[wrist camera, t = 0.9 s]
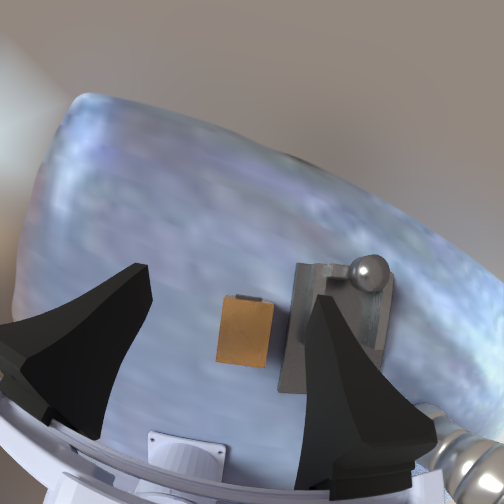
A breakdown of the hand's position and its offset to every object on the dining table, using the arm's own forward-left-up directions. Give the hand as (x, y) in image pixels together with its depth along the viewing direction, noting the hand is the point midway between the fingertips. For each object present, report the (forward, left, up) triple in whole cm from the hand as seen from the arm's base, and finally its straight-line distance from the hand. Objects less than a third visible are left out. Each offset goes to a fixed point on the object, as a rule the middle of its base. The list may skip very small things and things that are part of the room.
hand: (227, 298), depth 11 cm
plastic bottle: (-14, -22, -13) cm, 29 cm away
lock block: (-3, -1, -13) cm, 14 cm away
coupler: (-2, -10, -13) cm, 17 cm away
